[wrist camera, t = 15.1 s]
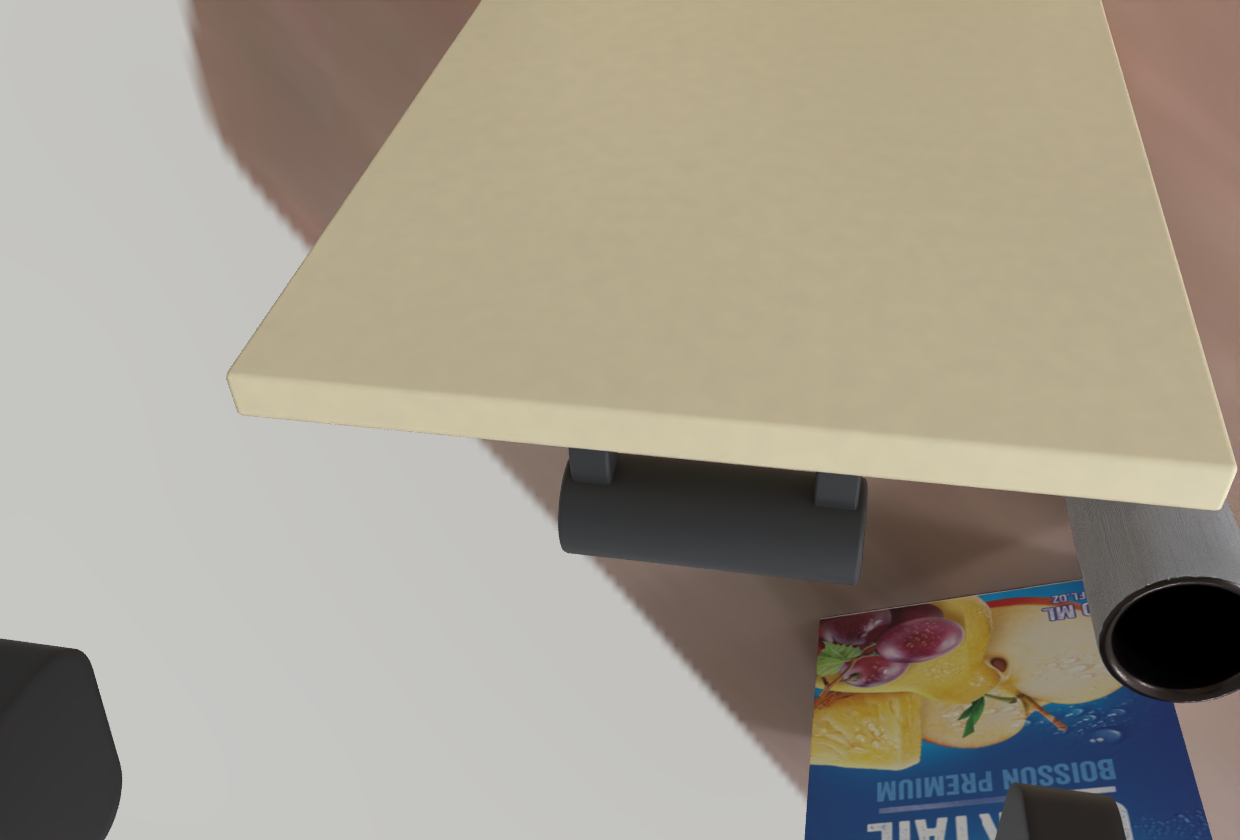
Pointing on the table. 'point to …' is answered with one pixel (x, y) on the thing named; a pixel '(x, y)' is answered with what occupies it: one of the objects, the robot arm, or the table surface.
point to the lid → (763, 272)
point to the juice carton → (984, 722)
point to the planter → (1162, 595)
